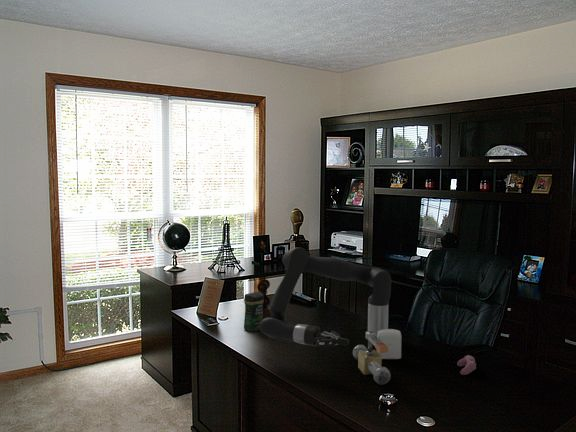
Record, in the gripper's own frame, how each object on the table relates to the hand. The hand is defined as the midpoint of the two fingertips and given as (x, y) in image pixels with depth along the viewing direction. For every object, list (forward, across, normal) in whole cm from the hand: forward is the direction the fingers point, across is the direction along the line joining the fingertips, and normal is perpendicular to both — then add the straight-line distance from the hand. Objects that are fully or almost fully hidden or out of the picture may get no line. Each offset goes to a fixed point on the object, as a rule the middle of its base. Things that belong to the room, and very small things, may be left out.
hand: (348, 342), depth 182 cm
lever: (+9, +6, +1) cm, 11 cm away
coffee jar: (-61, +30, +14) cm, 70 cm away
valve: (+5, +11, +14) cm, 19 cm away
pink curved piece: (+39, +29, +14) cm, 51 cm away
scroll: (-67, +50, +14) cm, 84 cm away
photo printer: (+8, +27, +14) cm, 32 cm away
